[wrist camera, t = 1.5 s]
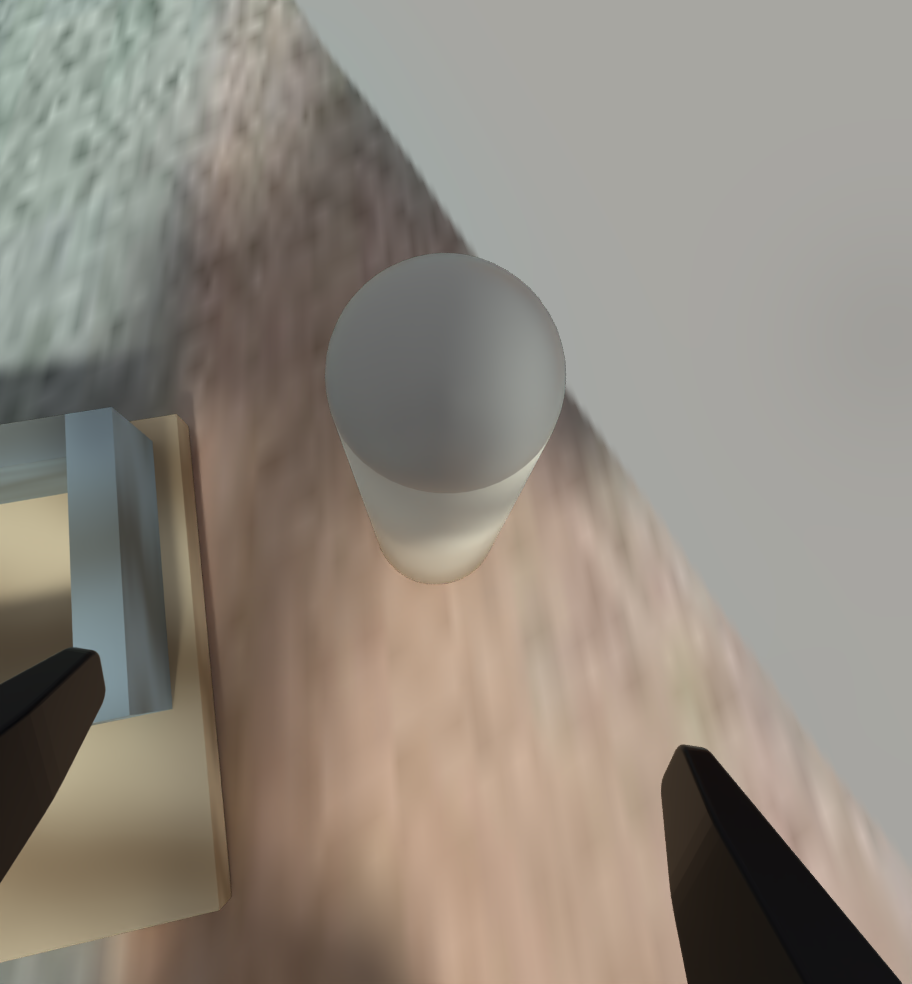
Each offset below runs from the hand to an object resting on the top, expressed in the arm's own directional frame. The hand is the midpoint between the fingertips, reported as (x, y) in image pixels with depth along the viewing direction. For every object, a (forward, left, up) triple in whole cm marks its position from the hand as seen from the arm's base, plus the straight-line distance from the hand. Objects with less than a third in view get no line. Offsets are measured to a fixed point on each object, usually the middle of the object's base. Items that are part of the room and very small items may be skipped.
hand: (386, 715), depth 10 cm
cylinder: (+6, -2, -12) cm, 14 cm away
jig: (+3, +12, -12) cm, 17 cm away
